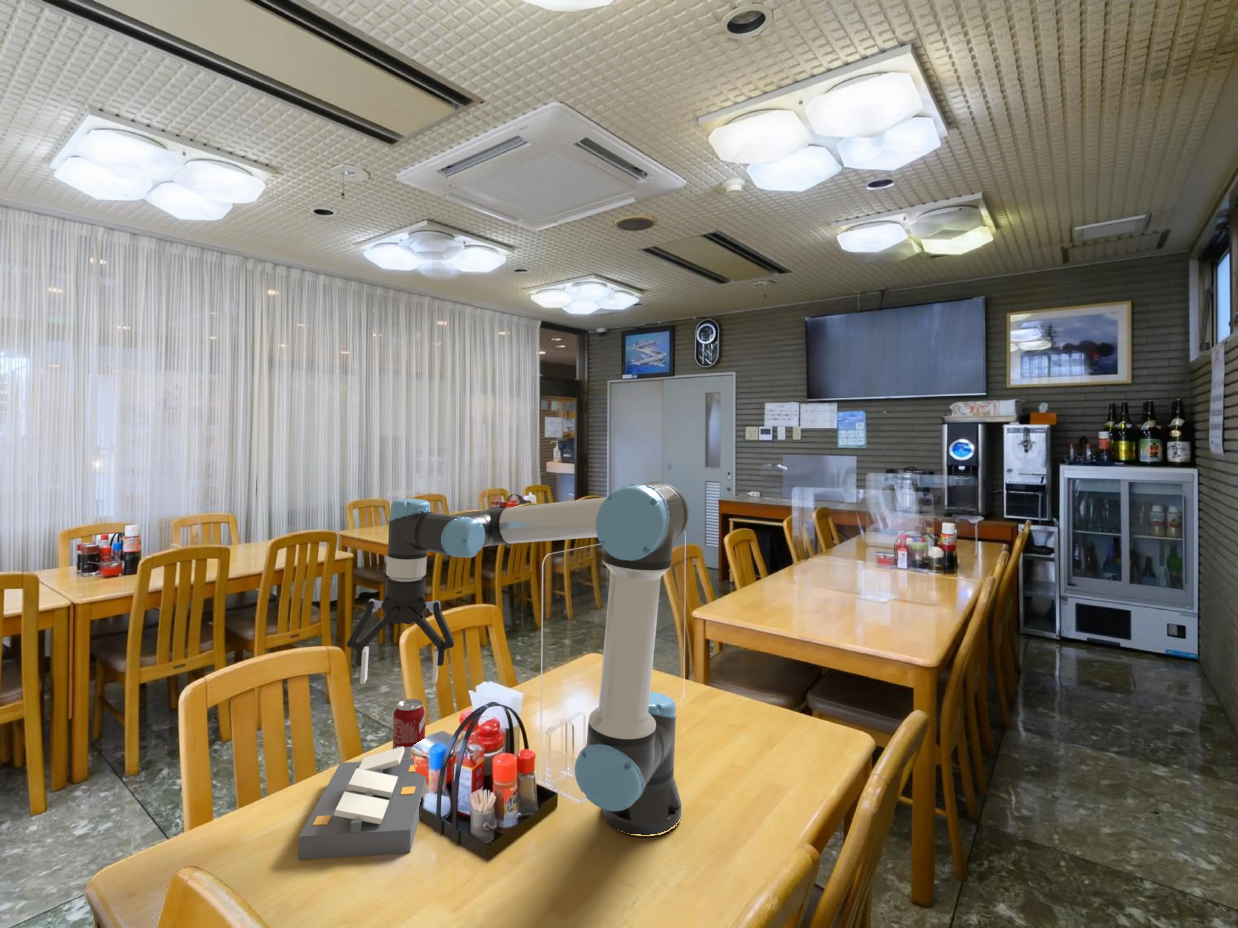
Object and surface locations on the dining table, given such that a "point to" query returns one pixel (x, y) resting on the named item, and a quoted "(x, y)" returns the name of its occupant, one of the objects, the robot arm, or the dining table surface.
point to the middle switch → (372, 783)
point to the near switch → (362, 808)
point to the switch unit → (360, 837)
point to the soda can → (408, 725)
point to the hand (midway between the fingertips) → (399, 681)
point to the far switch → (383, 760)
